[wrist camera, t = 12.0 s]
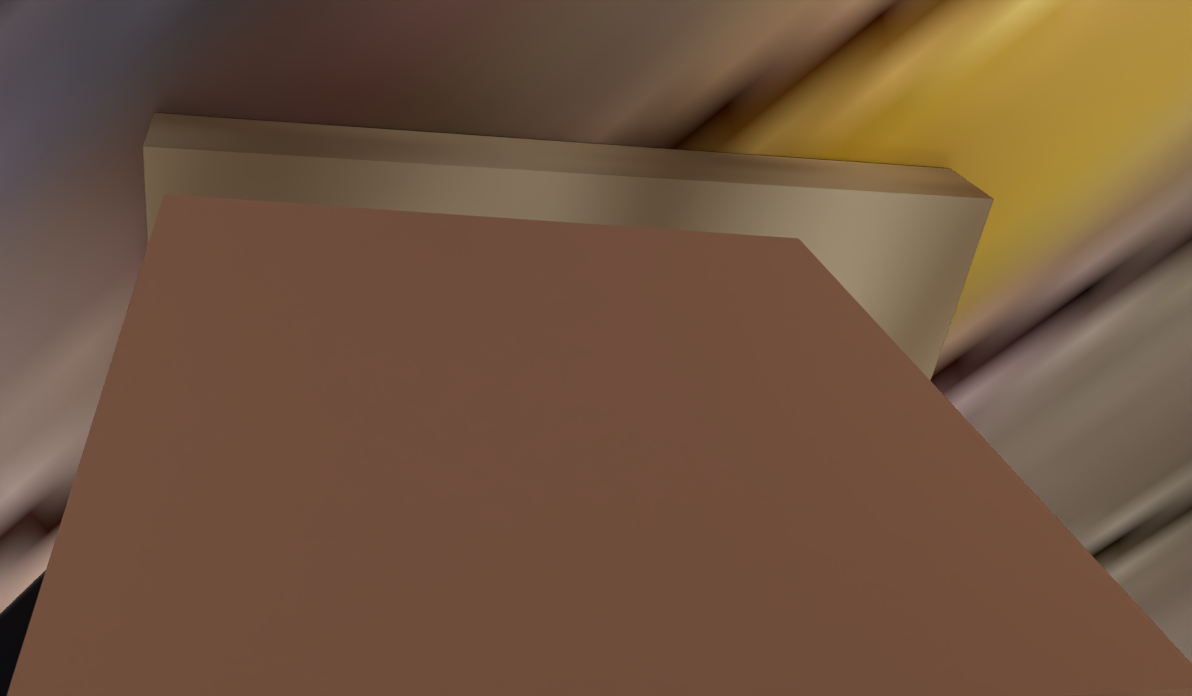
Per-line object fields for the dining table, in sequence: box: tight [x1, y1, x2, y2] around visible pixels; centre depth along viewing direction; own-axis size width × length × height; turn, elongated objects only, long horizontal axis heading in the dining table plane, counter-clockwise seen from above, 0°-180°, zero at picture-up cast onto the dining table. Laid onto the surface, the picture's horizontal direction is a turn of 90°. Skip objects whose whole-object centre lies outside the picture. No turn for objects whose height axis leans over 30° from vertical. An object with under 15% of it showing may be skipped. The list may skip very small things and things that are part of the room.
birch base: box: [143, 113, 993, 380], centre depth 21 cm, size 14×14×2 cm
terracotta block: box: [7, 194, 1192, 696], centre depth 8 cm, size 5×5×5 cm
